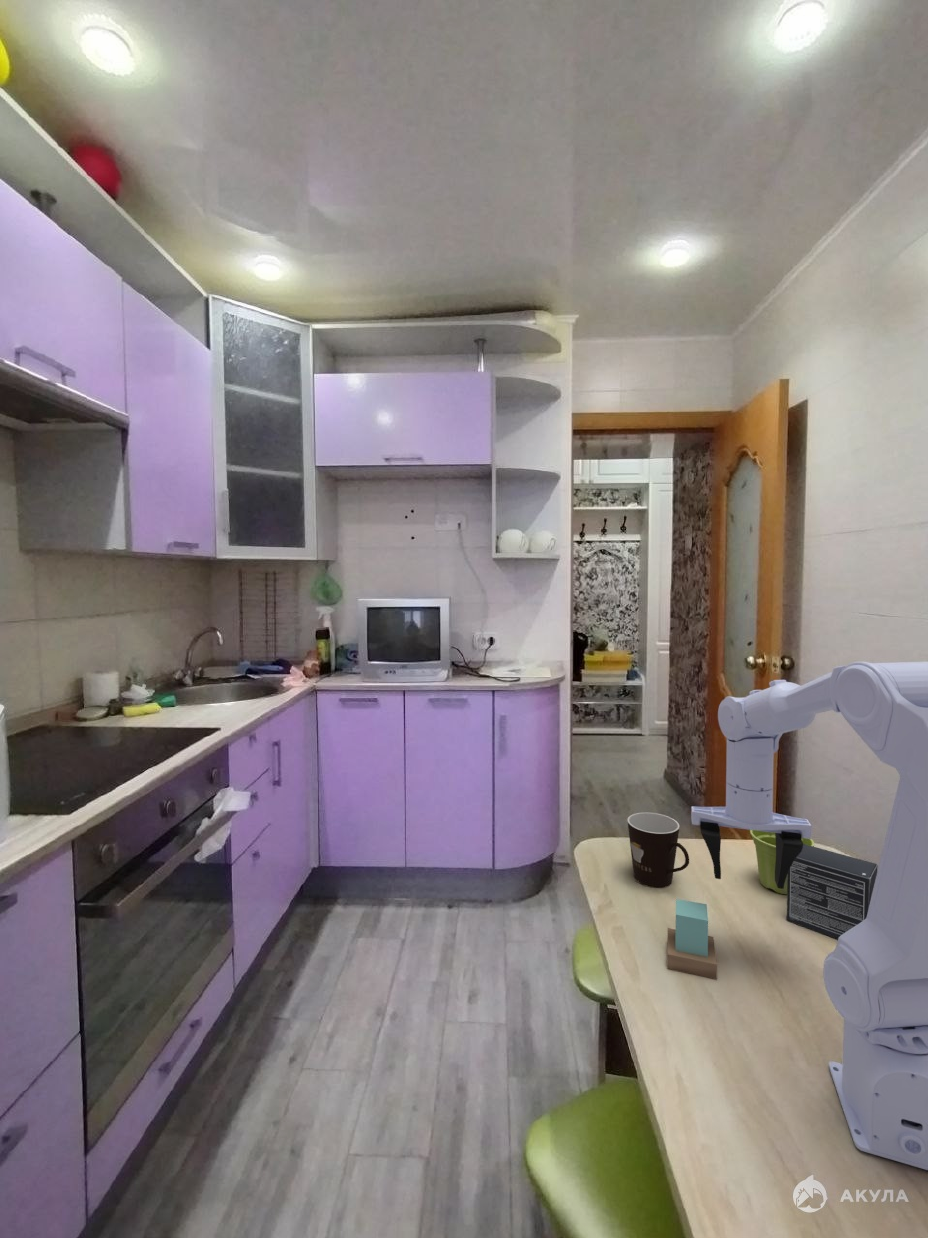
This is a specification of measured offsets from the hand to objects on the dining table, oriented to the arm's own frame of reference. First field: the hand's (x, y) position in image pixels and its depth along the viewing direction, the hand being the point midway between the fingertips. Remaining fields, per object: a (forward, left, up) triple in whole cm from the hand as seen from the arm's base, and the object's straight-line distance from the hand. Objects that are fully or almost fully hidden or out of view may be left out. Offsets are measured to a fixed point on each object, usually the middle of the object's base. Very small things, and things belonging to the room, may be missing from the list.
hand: (747, 880), depth 75 cm
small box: (+11, -13, -11) cm, 20 cm away
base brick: (-4, +7, -10) cm, 13 cm away
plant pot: (+21, -8, -11) cm, 25 cm away
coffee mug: (+15, +12, -11) cm, 22 cm away
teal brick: (-4, +7, -8) cm, 12 cm away
